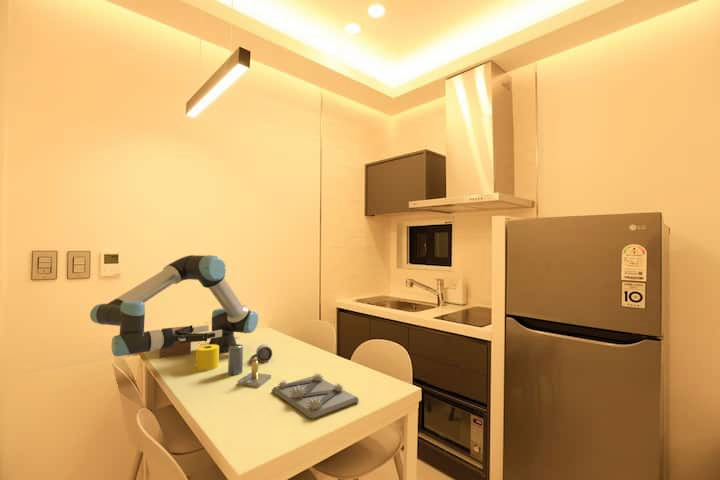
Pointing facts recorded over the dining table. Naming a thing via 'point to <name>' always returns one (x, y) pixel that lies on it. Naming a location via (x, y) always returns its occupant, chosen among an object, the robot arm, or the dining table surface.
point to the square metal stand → (254, 376)
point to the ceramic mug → (263, 353)
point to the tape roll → (207, 357)
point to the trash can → (235, 359)
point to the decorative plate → (314, 396)
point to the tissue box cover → (176, 348)
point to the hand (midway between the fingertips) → (214, 330)
